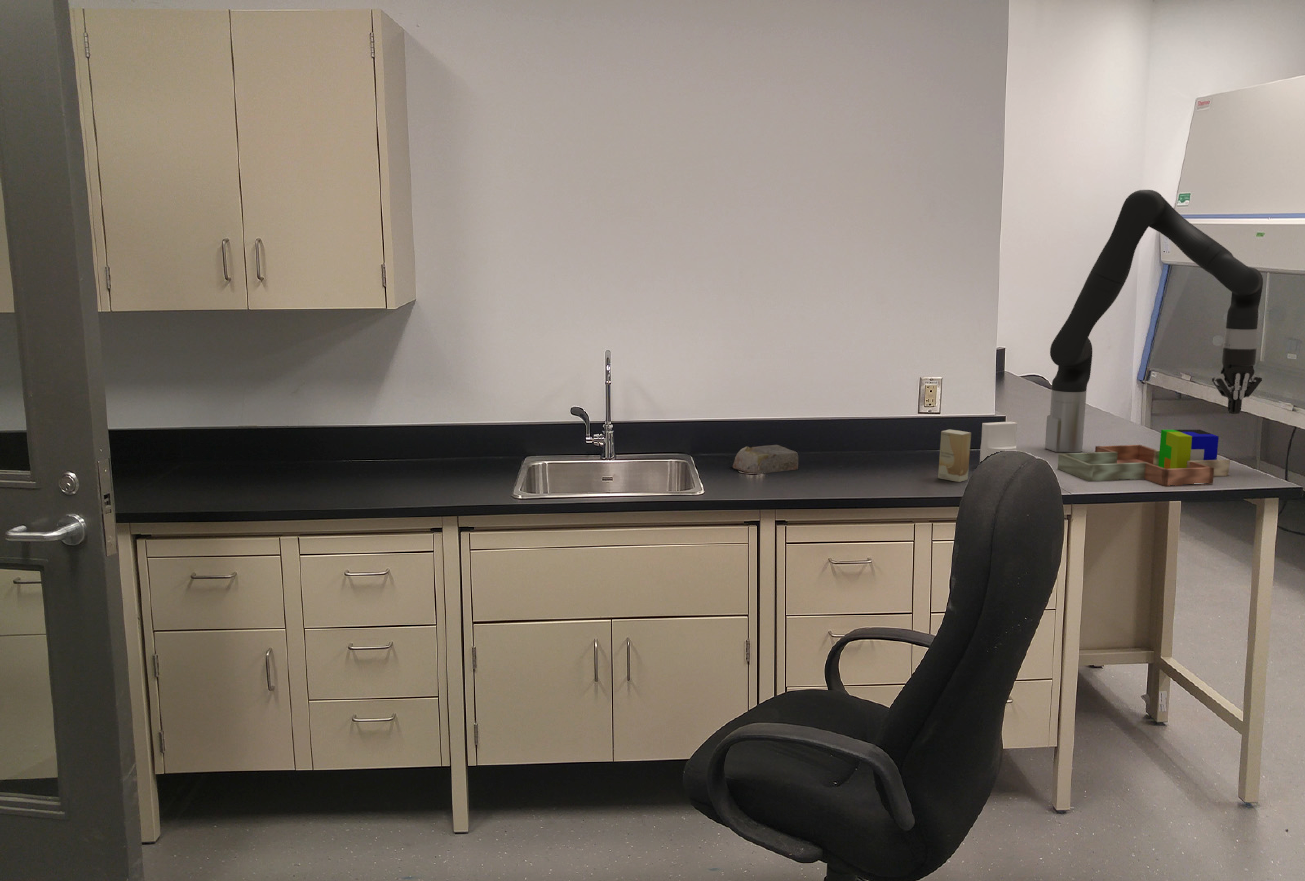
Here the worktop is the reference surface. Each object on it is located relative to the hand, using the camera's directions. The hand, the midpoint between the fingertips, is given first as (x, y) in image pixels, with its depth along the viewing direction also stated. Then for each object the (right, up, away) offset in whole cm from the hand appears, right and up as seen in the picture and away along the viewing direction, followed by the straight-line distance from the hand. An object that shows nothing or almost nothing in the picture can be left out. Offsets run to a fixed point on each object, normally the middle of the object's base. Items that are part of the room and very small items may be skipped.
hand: (1234, 413), depth 277 cm
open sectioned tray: (-24, -15, -1) cm, 29 cm away
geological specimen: (-120, -15, +7) cm, 121 cm away
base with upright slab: (-59, -14, +5) cm, 61 cm away
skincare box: (-75, -17, -8) cm, 77 cm away
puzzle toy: (-12, -15, +1) cm, 19 cm away
